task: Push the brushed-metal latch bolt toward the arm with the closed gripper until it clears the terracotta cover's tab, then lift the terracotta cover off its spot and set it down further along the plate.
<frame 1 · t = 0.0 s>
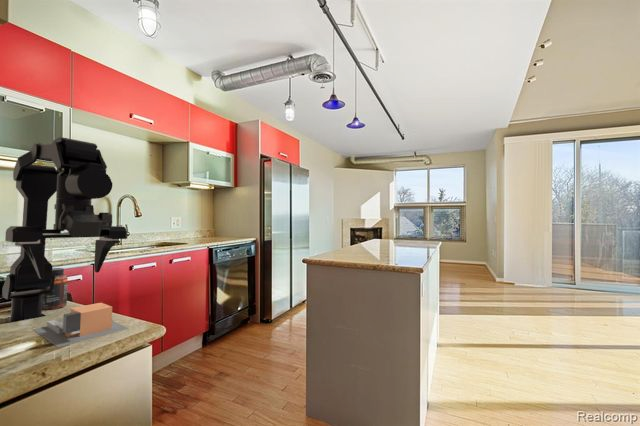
hand: (70, 275, 62), 15 cm above the counter, tool pointing down, fingers open, 9 cm apart
latch bolt: (64, 319, 64), point 5 cm above the counter, slide at 0.0 cm
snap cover: (90, 329, 68), point 1 cm above the counter, touching latch plate
latch plate: (81, 333, 69), on the counter
supplement bottle: (53, 308, 88), on the counter
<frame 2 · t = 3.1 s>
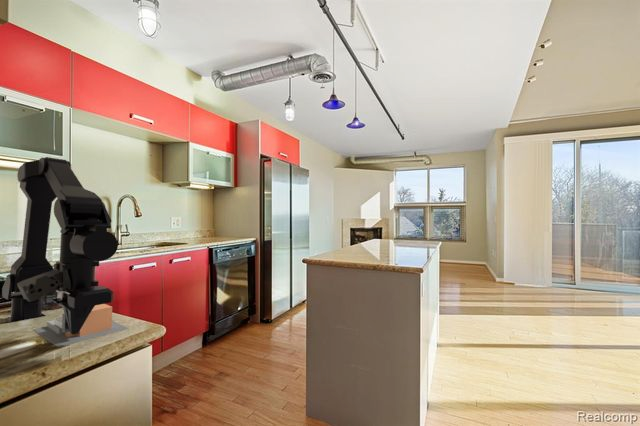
hand: (74, 333, 61), 3 cm above the counter, tool pointing down, fingers closed
latch bolt: (63, 319, 65), point 5 cm above the counter, slide at 0.6 cm, touching gripper
everything else where it was.
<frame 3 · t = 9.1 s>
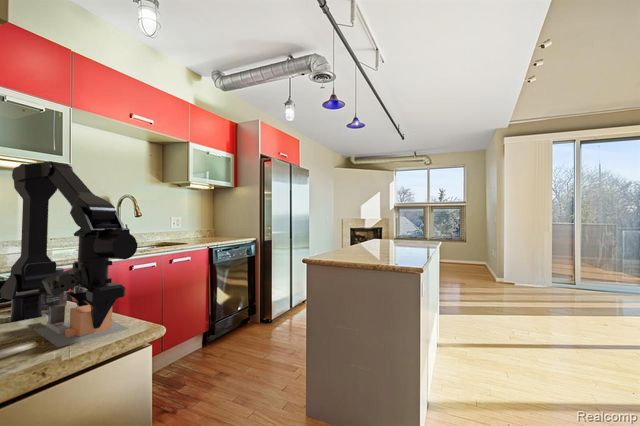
hand: (90, 325, 69), 2 cm above the counter, tool pointing down, fingers closed on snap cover, 6 cm apart
latch bolt: (50, 311, 69), point 5 cm above the counter, slide at 9.0 cm
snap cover: (90, 329, 68), point 1 cm above the counter, touching gripper, latch plate
everything else where it was.
when the fingers open (3 cm above the counter, at t = 12.9 s): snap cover stays where it is, resting on latch plate.
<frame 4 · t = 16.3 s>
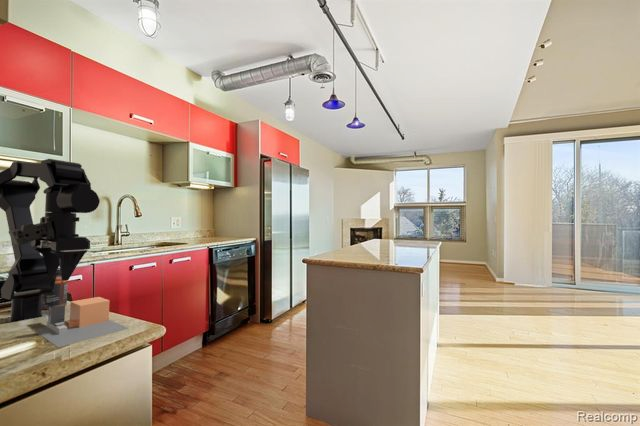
hand: (58, 278, 71), 12 cm above the counter, tool pointing down, fingers open, 9 cm apart
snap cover: (89, 321, 74), point 1 cm above the counter, touching latch plate
everything else where it was.
at the end: latch bolt slide at 9.0 cm; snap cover inside the target area (0.2 cm from its centre), point 1.0 cm above the counter; the gripper is holding nothing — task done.
